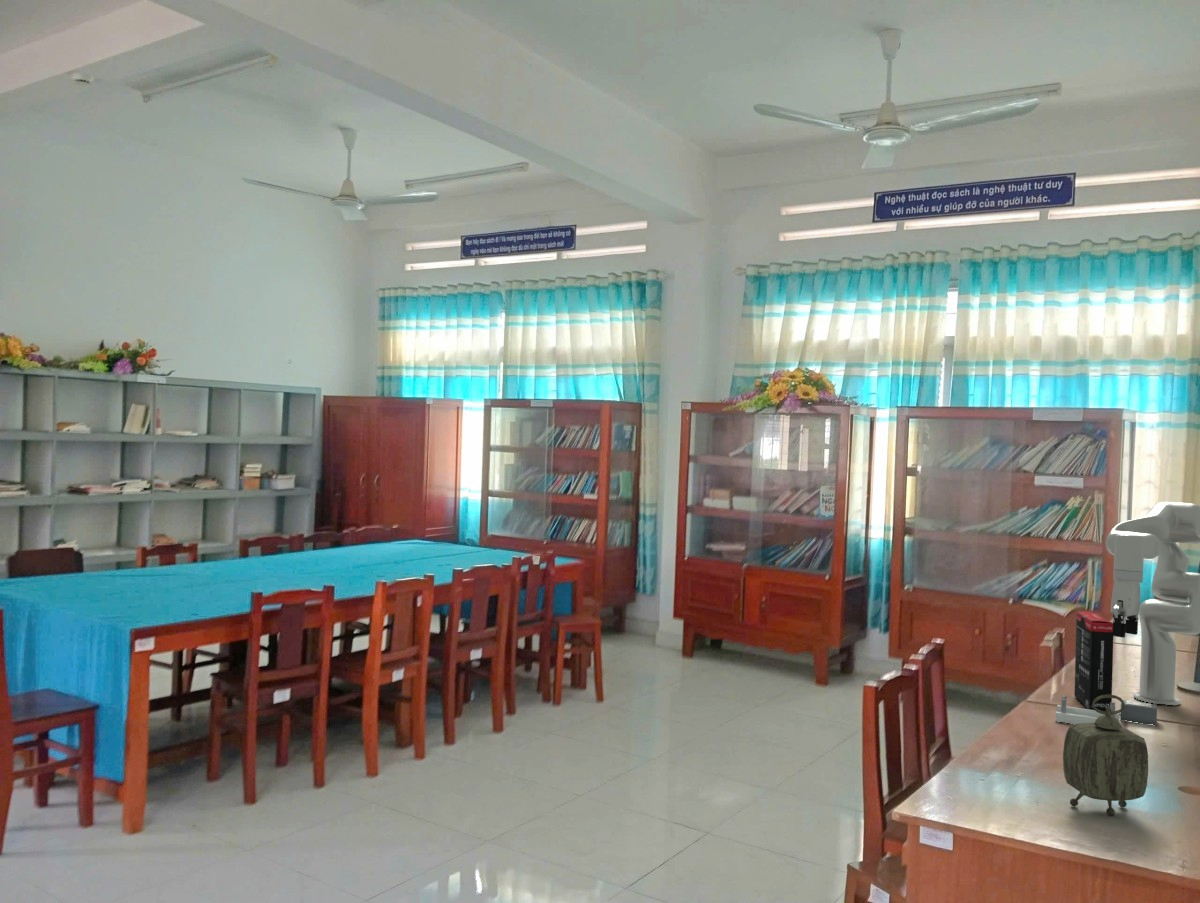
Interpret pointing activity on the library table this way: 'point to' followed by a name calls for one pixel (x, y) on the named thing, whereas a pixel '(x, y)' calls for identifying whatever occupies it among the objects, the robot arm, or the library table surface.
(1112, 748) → the tabletop clock
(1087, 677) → the graphics card box
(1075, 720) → the white and grey device
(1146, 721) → the block
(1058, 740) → the library table surface
